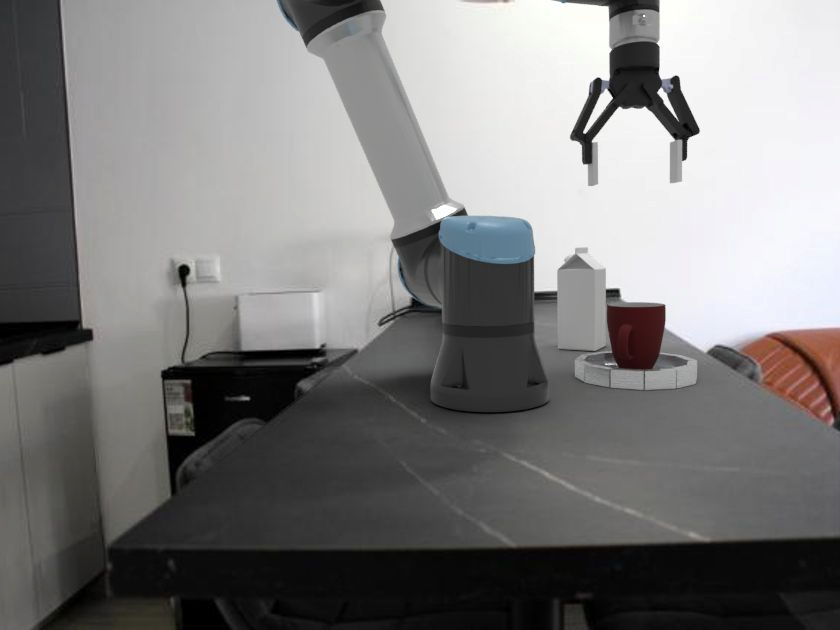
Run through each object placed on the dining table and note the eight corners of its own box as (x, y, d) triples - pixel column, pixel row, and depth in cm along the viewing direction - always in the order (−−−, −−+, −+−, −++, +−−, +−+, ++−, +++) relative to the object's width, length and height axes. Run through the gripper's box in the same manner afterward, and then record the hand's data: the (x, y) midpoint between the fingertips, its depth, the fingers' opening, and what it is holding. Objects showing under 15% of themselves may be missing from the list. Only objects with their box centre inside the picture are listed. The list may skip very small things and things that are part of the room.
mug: (659, 383, 83) (659, 309, 82) (597, 379, 87) (598, 308, 86) (667, 369, 92) (668, 302, 91) (612, 366, 96) (612, 301, 95)
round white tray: (599, 392, 81) (599, 373, 81) (562, 368, 98) (562, 353, 97) (720, 386, 82) (720, 368, 82) (663, 364, 99) (663, 349, 98)
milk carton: (606, 346, 119) (606, 246, 117) (594, 352, 113) (594, 247, 111) (569, 344, 122) (569, 247, 120) (557, 349, 116) (556, 248, 114)
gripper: (562, 40, 93) (564, 183, 95) (724, 37, 94) (722, 178, 97) (549, 56, 101) (551, 188, 103) (699, 52, 102) (698, 183, 104)
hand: (634, 184), depth 100 cm, fingers open, 13 cm apart
